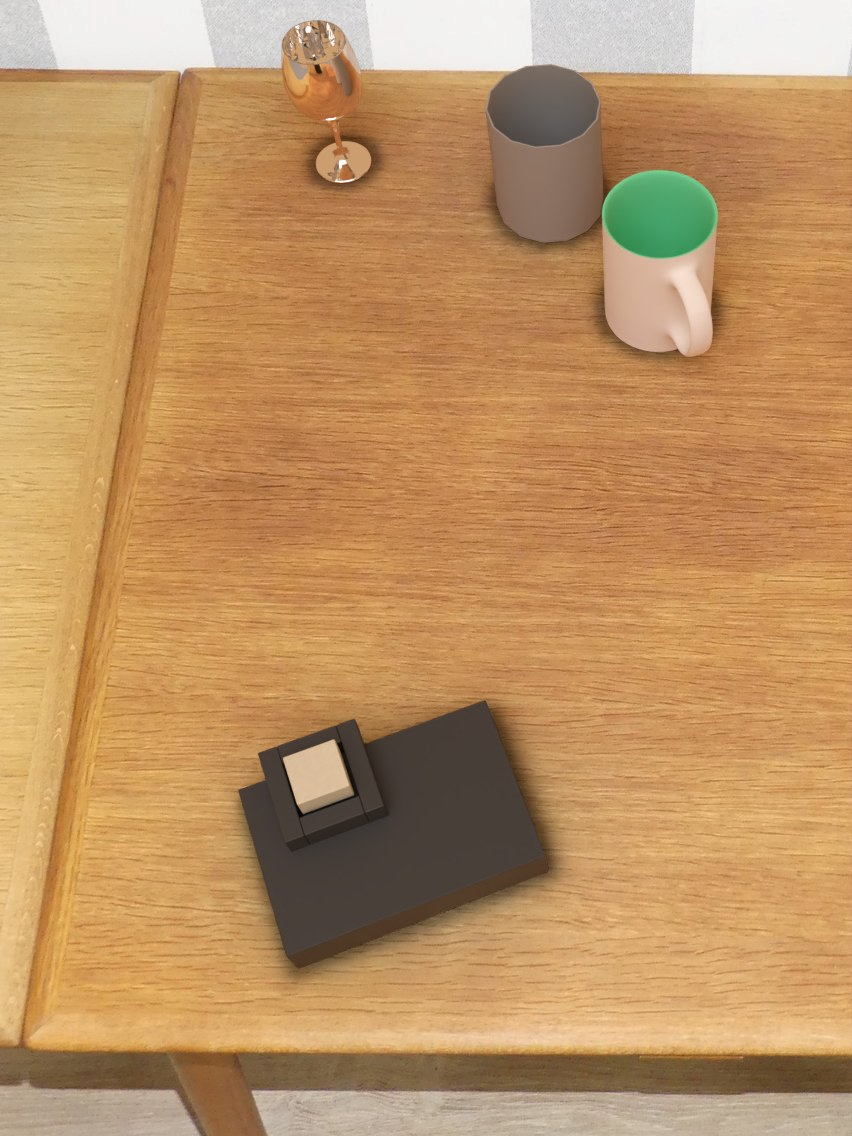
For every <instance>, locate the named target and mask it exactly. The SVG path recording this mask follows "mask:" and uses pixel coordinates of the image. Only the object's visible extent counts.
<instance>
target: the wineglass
mask: <svg viewBox="0 0 852 1136" xmlns="http://www.w3.org/2000/svg"><path fill="white" fill-rule="evenodd" d="M280 56H281V58H280V61H281V63H280V64H281V74H282V80H283V85H284V90H285V92H286V94H287V96H288V98H289V101H290V102H291V104H292V105H293V107H294V108H295V109H296V110H297V111H298V112H299V113H301V115H304V116H305V117H307V118H309V119H311V120H315V121H320V122H326V123H327V126H328V127H329V128H330V130H331V132H332V135H333V137H334V142H332V143H330V144H328V145H326V146H325V147H323V148H322V149H321V151H319V153H318V154H317V156H316V159H315V169H316V171H317V173H318V175H319V176H320V177H322V179H324V180H326V181H328V182H331V183H335V184H348V183H352V182H355V181H357V180H359V179H361V178H363V177H364V176H365V175H366V174H367V173H368V172H369V170H370V168H371V166H372V156H371V153H370V151H369V150H368V149H367V147H365V146H364V145H363V144H360V143H359V142H355V141H352V140H351V141H350V140H342V139H341V134H340V133H341V132H340V125H341V124H340V122H341V121H340V119H341V118H344V117H346V116H347V115H349V114H350V113H351V112H353V110H354V109H355V108H356V107H357V106H358V104H359V101H360V100H361V97H362V92H363V75H362V70H361V68H360V67H361V66H360V64H359V60H358V58H357V55H356V53H355V51H354V48H353V47H352V45H351V43H350V41H349V39H348V37H347V36H346V34H345V33H344V31H343V30H342V28H341V27H339V26H338V25H337V24H335V23H333V22H330V21H327V20H323V19H321V20H320V19H312V20H305V21H303V22H300V23H298V24H296V25H294V26H292V27H291V28H289V30H287V32H286V33H284V35H283V37H282V40H281V55H280Z"/></svg>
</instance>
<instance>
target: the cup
mask: <svg viewBox="0 0 852 1136" xmlns="http://www.w3.org/2000/svg"><path fill="white" fill-rule="evenodd" d="M484 111H485V117H486V118H485V119H486V127H487V135H488V142H489V150H490V159H491V166H492V167H491V168H492V175H493V183H494V190H495V201H496V208H497V210H498V212H499V215H500V217H501V219H502V222H503V224H504V225H505V226H507V227H508V228H509V229H511V230H512V231H513V232H514V233H515V234H517V235H518V236H519V237H521V238H525V239H527V240H532V241H535V242H538V243H555V242H556V243H558V242H567V241H570V240H572V239H574V238H576V237H577V236H580V235H582V234H585V233H586V232H588V231H589V230H590V229H591V228H592V226H593V225H594V224H595V223H596V222H597V220H598V219H599V218H600V217H601V216H602V208H603V204H604V170H603V169H604V167H603V164H604V163H603V138H602V137H603V132H602V131H603V129H602V100H601V98H600V96H599V94H598V92H597V89H596V88H595V85H594V83H593V82H592V81H591V80H589V79H588V78H586V77H585V76H584V75H582V74H581V73H579V72H578V71H577V70H575V69H572V68H568V67H565V66H561V65H560V66H559V65H557V64H552V63H548V64H533V65H525V66H523V67H521V68H517V69H516V70H514V71H511V72H509V73H507V74H504V75H503V76H502V77H501V78H500V79H499V80H498V81H497V83H495V85H494V86H492V88H490V90H489V93H488V95H487V100H486V105H485V109H484Z"/></svg>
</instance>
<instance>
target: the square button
mask: <svg viewBox="0 0 852 1136" xmlns="http://www.w3.org/2000/svg"><path fill="white" fill-rule="evenodd" d="M283 761H284V764H285V767H286V770H287V774H288V777H289V780H290V783H291V786H292V790H293V793H294V796H295V799H296V803H297V805H298V807H299V808H300V810H301V811H302V813H303V814H305V813H308V812H310V811H313V810H316V809H318V808H321V807H324V806H327V805H329V804H332V803H335V802H337V801H340V800H343V799H345V798H348V797H351V796H354V791H353V788H352V785H351V782H350V779H349V776H348V773H347V770H346V767H345V764H344V761H343V758H342V755H341V752H340V749H339V747H338V745H337V743H336V741H335V740H331V741H328V742H325V743H322V744H319V745H317V746H314V747H311V748H308V749H306V750H303V751H300V752H297V753H295V754H292V755H289V756H286V757H284V758H283Z"/></svg>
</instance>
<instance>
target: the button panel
mask: <svg viewBox="0 0 852 1136" xmlns="http://www.w3.org/2000/svg"><path fill="white" fill-rule="evenodd" d="M331 740H335V741H336V743H337V745H338V747H339V749H340V752H341V755H342V758H343V761H344V764H345V767H346V770H347V773H348V776H349V779H350V782H351V785H352V788H353V791H354V796H351V797H348V798H345V799H343V800H340V801H337V802H335V803H332V804H329V805H327V806H324V807H321V808H318V809H316V810H313V811H310V812H308V813H305V814H303V813H302V811H301V810H300V808H299V807H298V805H297V803H296V799H295V796H294V793H293V790H292V786H291V783H290V780H289V777H288V774H287V770H286V767H285V764H284V761H283V758H284V757H286V756H289V755H292V754H295V753H297V752H300V751H303V750H306V749H308V748H311V747H314V746H317V745H319V744H322V743H325V742H328V741H331ZM257 756H258V760H259V763H260V767H261V769H262V772H263V775H264V780H262V781H258V782H256V783H254V784H250V785H248V786H245V787H242V788H239V789H238V796H239V798H240V802H241V806H242V809H243V812H244V816H245V819H246V823H247V826H248V829H249V833H250V837H251V839H252V843H253V846H254V850H255V854H256V856H257V861H258V864H259V867H260V871H261V874H262V877H263V881H264V885H265V887H266V891H267V894H268V897H269V898H268V899H269V902H270V905H271V908H272V912H273V915H274V918H275V922H276V925H277V929H278V932H279V937H280V939H281V943H282V946H283V949H284V953H285V956H286V958H287V959H289V961H290V962H291V963H292V965H294V966H295V967H296V968H297V969H299V970H300V969H301V968H304V967H307V966H309V965H312V964H315V963H318V962H321V961H323V960H325V959H328V958H330V957H332V956H336V955H337V954H340V953H343V952H346V951H347V950H350V949H353V948H356V947H358V946H361V945H363V944H366V943H368V942H370V941H373V940H376V939H378V938H381V937H384V936H387V935H389V934H391V933H394V932H396V931H399V930H402V929H404V928H407V927H410V926H412V925H415V924H418V923H419V922H422V921H425V920H428V919H430V918H432V917H435V916H438V915H441V914H443V913H446V912H448V911H450V910H453V909H456V908H458V907H460V906H463V905H466V904H468V903H470V902H473V901H476V900H478V899H481V898H484V897H486V896H489V895H491V894H494V893H497V892H499V891H501V890H505V889H506V888H509V887H513V886H515V885H517V884H519V883H522V882H524V881H525V882H526V881H527V880H529V879H533V878H534V877H535V878H536V877H537V876H540V875H542V874H545V873H548V871H549V866H548V860H547V855H546V853H545V850H544V847H543V845H542V842H541V839H540V837H539V834H538V832H537V829H536V826H535V824H534V821H533V818H532V816H531V814H530V811H529V808H528V806H527V803H526V800H525V798H524V796H523V794H522V790H521V788H520V785H519V782H518V780H517V778H516V774H515V773H514V769H513V767H512V764H511V762H510V759H509V756H508V754H507V751H506V748H505V746H504V743H503V740H502V739H501V736H500V733H499V731H498V728H497V724H496V723H495V719H494V717H493V715H492V712H491V709H490V707H489V705H488V702H487V700H486V699H484V700H481V701H478V702H475V703H473V704H470V705H468V706H465V707H462V708H459V709H457V710H454V711H451V712H448V713H445V714H443V715H440V716H437V717H434V718H432V719H429V720H426V721H424V722H421V723H419V724H416V725H413V726H410V727H406V728H405V729H401V730H398V731H397V732H394V733H390V734H387V735H386V736H383V737H379V738H377V739H374V740H372V741H369V742H366V743H365V741H364V738H363V734H362V732H361V729H360V727H359V725H358V722H357V720H356V719H355V718H351V719H349V720H346V721H344V722H340V723H338V724H336V725H331V726H329V727H326V728H324V729H321V730H318V731H315V732H312V733H310V734H307V735H304V736H302V737H298V738H296V739H293V740H290V741H288V742H285V743H281V744H279V745H277V746H273V747H271V748H268V749H265V750H263V751H259V752H258V753H257Z"/></svg>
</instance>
